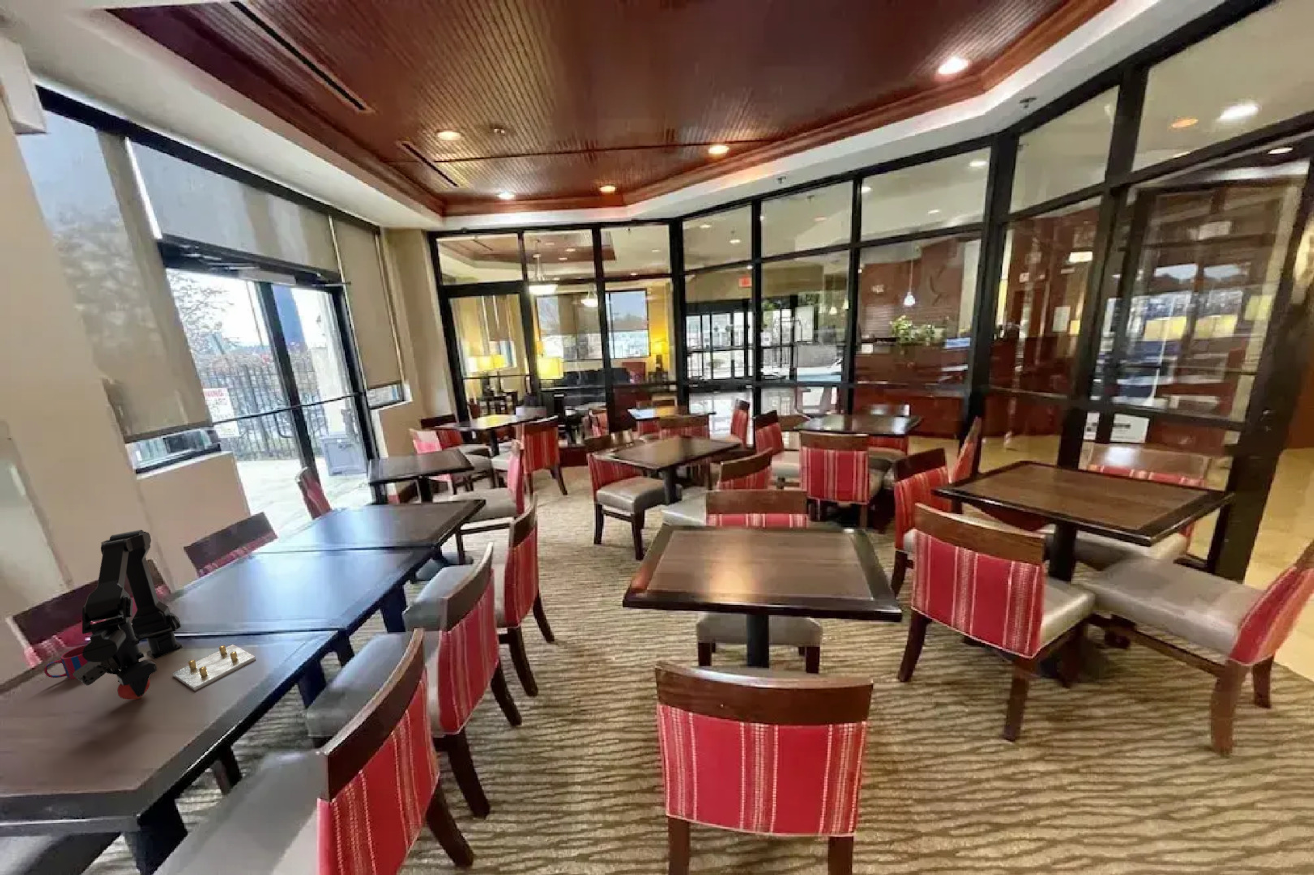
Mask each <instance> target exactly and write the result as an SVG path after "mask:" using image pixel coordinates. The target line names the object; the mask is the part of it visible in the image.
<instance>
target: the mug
mask: <svg viewBox="0 0 1314 875" xmlns="http://www.w3.org/2000/svg"><path fill="white" fill-rule="evenodd" d="M86 645H87V644H84V645H80V646H77V647H74V648H72V649H69V650H68V651H66V652H65V653H63V654H61V655H60V656H59V657H60V659H58V660H54V661H51V662H49V663H47V664H46V665H45V666H44V669H43V670H44V671H43V672H44V675H45V676H46V677H48V678H52V679H57V678H58V679H59V678H64V677H67V679H68V680H78V679H77V678H76V677H74V676H73V673H74V672H75V671H76V670H78V669H79V668H81V667H82V666H84V665H85V664H86V663H88V662H89V661H87V660H86V659H84V657H83V656H82V653H83V649H84V647H85V646H86ZM54 664H61V665H62V666H63V669H64V672H65V673H62V674H56V675H55V674H54V675H53V674H50V673H49V671H48V668H49V666H51V665H54Z"/></svg>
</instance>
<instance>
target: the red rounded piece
mask: <svg viewBox="0 0 1314 875" xmlns="http://www.w3.org/2000/svg"><path fill="white" fill-rule="evenodd" d="M150 686H151V681H150V679H149V680H148V682H147V685H146V688H145V691H144V694H145V693H146V692H147V691H148V690H149V688H150ZM117 695H118V696H119V697H120V698H121V699H123V700H128V701H129V700H139V699H141V698H142V697H143V695H142V696H140V697H137V696H136V694H135V693H134V692H133V690H132V689H131V687H130V686H129V684H128V685H125V686H123V685H122V684H120V683H119V685H118V686H117Z"/></svg>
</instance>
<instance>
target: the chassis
mask: <svg viewBox="0 0 1314 875" xmlns="http://www.w3.org/2000/svg"><path fill="white" fill-rule="evenodd" d="M218 649H219V650H218V651H216V652H214V653H212V654H210V655H208V656H206V657H203V658H201V659H199V660H197V661H196V659H191V660H189V661H188V662H187V664H188V665H186V666H184V667H183V668H181V669H178V670H176V671H174V672H172V676H173V678H175V679H176V680H178V681H180V682H181V683H182V684H184V685H185V686H187V687H188V688H190V689H191V690H192V691H194V692H196V691H197V690H200V689H201V688H203V687H205V686H207V685H209V684H211V683H213V682H215V681H217V680H219V679H220V678H221V679H222V677H224V676H226V675H228V674H229V675H230V674H231V673H232V672H234V671H236V670H238V669H240V668H242V667H244V666H246V665H248V664H251V662H253V661H256V660H257V659H256V656H255V655H253V654H251V653H250V652H248V651H245V650H244V649H242V648H241V647H239V646H236V645H235V644H231V645H228V646H226V645H221V646H219V647H218Z"/></svg>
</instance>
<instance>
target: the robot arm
mask: <svg viewBox="0 0 1314 875" xmlns="http://www.w3.org/2000/svg"><path fill="white" fill-rule="evenodd" d="M151 542H152V538H151V534H150V532H147V531H144V530H143V529H137V530H133V531H128V532H122V533H117V534H112V535H110V536H109V539H106V540H104V541H102V542H100V544H101V546H100V553H101V554H102V556H101V562H100V568H99V574H98V580H97V585H96V588H94V590H93V591H91V593H89V594H88V595H87V598H86V602H85V605H83V607H82V609H81V610H82V613H81V615H82V616H81V617H82V618H81V620H82V621H81V625H82V627H81V631H82V632H81V633H82V635H85V634H89V633H91V635H90V637H89V639H90V640H89V641H88V643H86V644H85V645H86V646H85V647H84V649H83V653H82V656H83V657H84V659H86V660H87V661H89V662H88V663H86V664H85V665H84V666H82V667H81V668H79V669H78V670H76V671H75V672H74V673H73V676H74V677H76V678H77V679H76V680H78V681H80V682H81V683H82V684H84V685H85V686H91V685H92V684H94V683H95V682H96V681H97V680H98V679H100V678H101V677H103V676H104V675H105V674H106V673H107V674H110V675H116V678H117V683H119V685H120V684H122V685H123V686H125V685H128V684H129V686H130V687H131V689H132V690H133V692H134V693H135V694H136V696H137V697H140V696H142V697H143V696H144V695H145V693H144V691H145V688H146V685H147V682H148V680H150V677H151V675H153V674H155V673H156V672H157V671H158V668H157V665H156V663H155V662H153V660H149V659H142V658H145V656H144V653H143V652H142V651H141V650H140V647H139V644H140V643H141V641H143V640H146V641H147V645H148V648H149V650H148V651H147V652H146V655H147V656H149V657H151V658H152V659H154V660H155V659H158V658H160V657H163V656H165V655H167V654H170V653H171V652H174V651H175V650H178V649H180V648H182V647H183V644H181V643H180V642H178V641H177V639H176V636H175V632H177V631H178V629H180V628H182V625H181V620H180V619H179V617H178V616H177V615H176V614H174V613H173V612H171V610H170V607H169V606H168V604H165V603H163V602H161V601H160V600H159V598H158V595H157V594H158V593H157V591H156V587H155V584H154V582H153V581H154V580H153V578H152V575H151V571H150V567H149V565H148V561H147V558H146V556H147V555H148V553H149V552H150V551H149V550H151ZM126 578H127V581H128V584H129V588H130V592H131V594H132V598H131V596H130V594H129V593H128V591H126V590H125V583H126ZM134 605H135V608H136V610H137V611H135V614H134V616H133V610H134V608H133V607H134ZM131 617H133V618H132V620H130V619H131ZM141 659H142V660H141Z"/></svg>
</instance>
